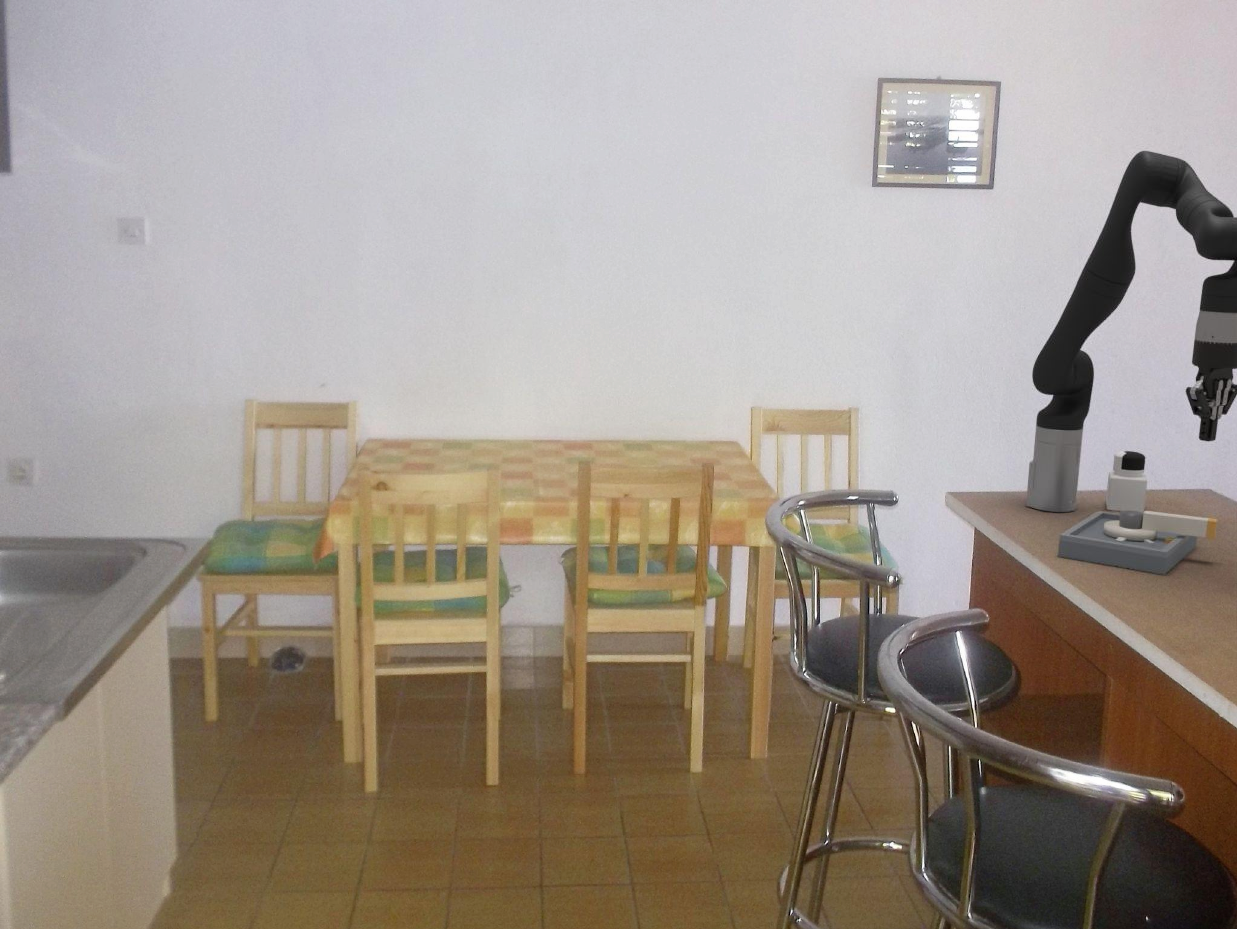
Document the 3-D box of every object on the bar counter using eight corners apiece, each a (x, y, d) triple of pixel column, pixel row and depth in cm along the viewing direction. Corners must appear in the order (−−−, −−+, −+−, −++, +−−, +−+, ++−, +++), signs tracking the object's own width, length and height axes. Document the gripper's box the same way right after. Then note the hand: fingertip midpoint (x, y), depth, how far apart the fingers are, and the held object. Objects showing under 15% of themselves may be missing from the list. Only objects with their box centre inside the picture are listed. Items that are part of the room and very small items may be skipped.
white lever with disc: (1100, 536, 222) (1102, 511, 221) (1107, 525, 230) (1109, 502, 229) (1212, 551, 213) (1215, 525, 212) (1215, 539, 221) (1218, 515, 220)
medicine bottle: (1141, 506, 261) (1147, 450, 258) (1143, 513, 254) (1150, 456, 252) (1105, 503, 263) (1111, 448, 261) (1107, 510, 256) (1112, 454, 254)
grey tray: (1057, 556, 220) (1059, 534, 219) (1096, 530, 239) (1098, 510, 238) (1164, 574, 210) (1166, 552, 209) (1195, 546, 229) (1198, 525, 228)
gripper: (1218, 342, 199) (1206, 447, 202) (1262, 339, 206) (1249, 440, 210) (1175, 338, 205) (1164, 440, 208) (1219, 335, 212) (1207, 433, 216)
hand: (1207, 440), depth 209 cm, fingers closed
